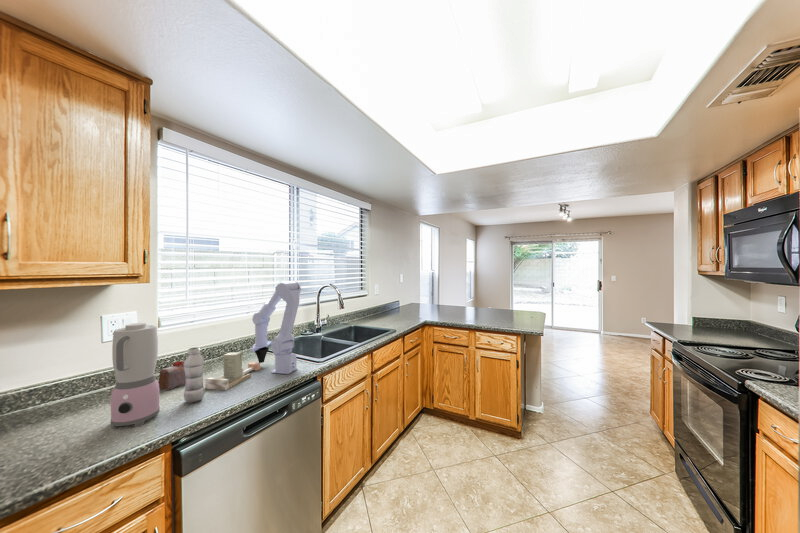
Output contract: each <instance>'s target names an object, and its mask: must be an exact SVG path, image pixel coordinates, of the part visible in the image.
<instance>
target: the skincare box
mask: <svg viewBox="0 0 800 533" xmlns="http://www.w3.org/2000/svg"><path fill="white" fill-rule="evenodd" d="M222 358H223V359H222V363H223V364H222V366H223V376H224V379H229V383H231V382H233V381H235V380H237V379H239V378H241V377H242V368H243V362H242V361H243V359H242V352H241V351H239V352H238V351H237V352H235V351H233V352H227V353H225V354H223V356H222Z"/></svg>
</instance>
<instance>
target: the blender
mask: <svg viewBox="0 0 800 533" xmlns="http://www.w3.org/2000/svg"><path fill="white" fill-rule="evenodd" d="M158 340H159V338H158V328H157V326H156V325H152V324H151V325H150V324H149V325H147V323H145V322H137V323H128V324H126V325H125V327H121V328H118V329H115V330H114V331H113V333H112V345H111V346H112V349H111V350H112V354H111V355H112V356H111V358H112V368H113V370H114V374H115V379H116V380H115V381H116V383H115V386H114V388H112V392H111V395H110V426H111V429H113V430H115V429H117V427H123V426H130V425H134V426H135V427H137V428H138V427H141V426H143V425H144V424H145V421H147V420H149V419H151V418H153V417H155V416H157V415H159V413H160V411H161V407H160V388H159V380H157V378H156V376H155V372H156V366H157V362H158V355H159V354H158V352H159V351H158V350H159V345H158V344H159V342H158ZM135 427H134V428H135Z"/></svg>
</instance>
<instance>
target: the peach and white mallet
mask: <svg viewBox="0 0 800 533" xmlns="http://www.w3.org/2000/svg"><path fill="white" fill-rule="evenodd" d="M259 370H261V363H259V362H254V361H252V362H249V363H247V369H244V367H242V377H243V376H245V375H246V374H248V373H249V372H251V371H255V372H257V371H259Z"/></svg>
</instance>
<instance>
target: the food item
mask: <svg viewBox="0 0 800 533" xmlns="http://www.w3.org/2000/svg"><path fill="white" fill-rule="evenodd" d="M158 375H159V376H158V377H159V378H158V384H159V390H165V391H169V390H171V389H174V388H176V387H179V386H185V384H186V377H185V370H184V361H182V360H181V361H176V362H173V363H172V366H168V367H165V368H162V369H160V370H159V374H158Z"/></svg>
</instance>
